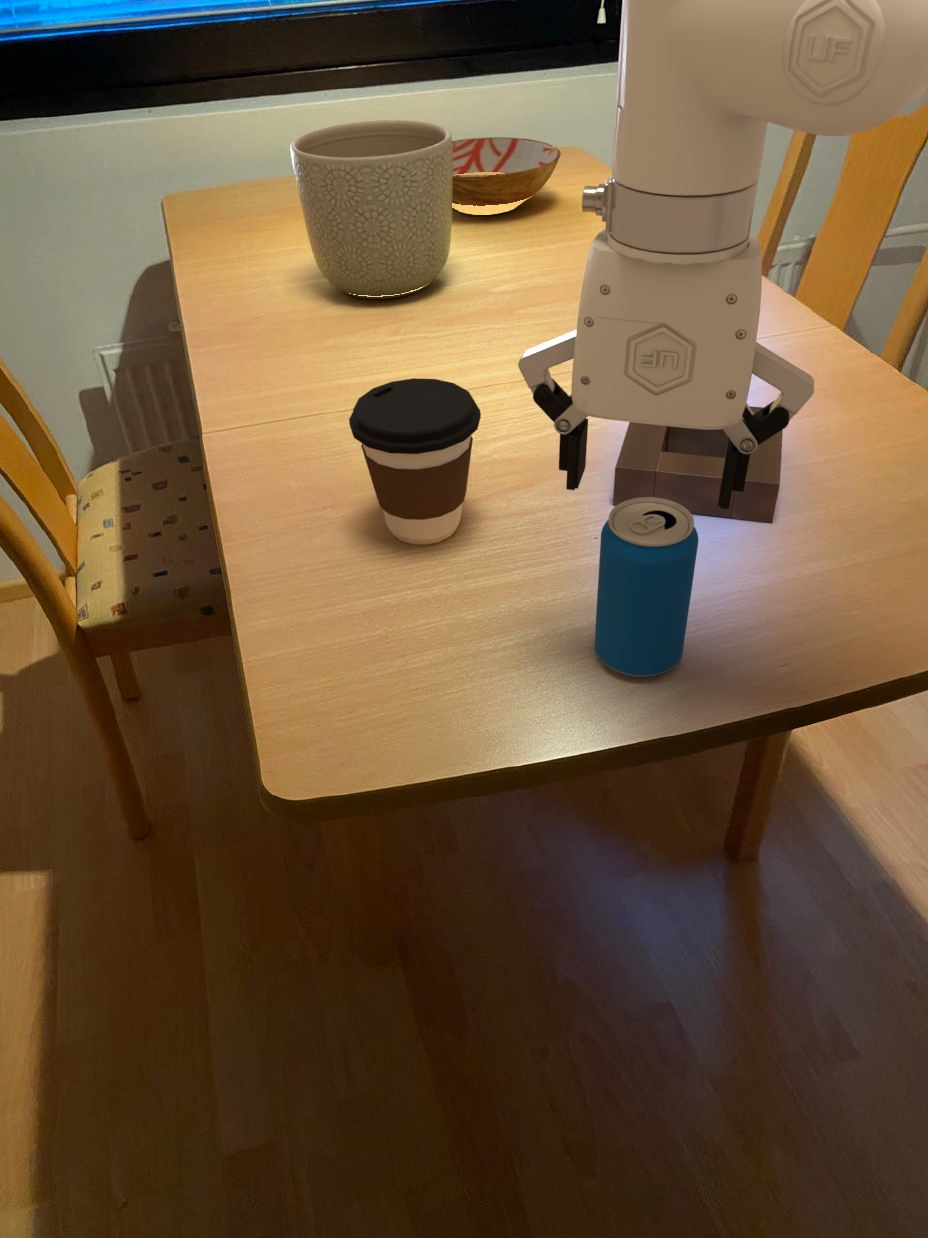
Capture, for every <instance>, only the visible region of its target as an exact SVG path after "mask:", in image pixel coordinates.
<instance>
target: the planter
mask: <svg viewBox="0 0 928 1238" xmlns="http://www.w3.org/2000/svg"><path fill="white" fill-rule="evenodd" d="M452 141H453V139H452V132H451V131H450V130H449V129H448V128H446V127H445V126H442V125H440V124H437V123H432V122H427V121H426V122H425V121H419V120H407V119H379V120H378V119H377V120H364V121H363V120H362V121H355V122H347V123H340V124H334V125H330V126H329V125H328V126H325V127H320V128H317V129H314V130H310V131H308V132H305V133H303V134H301V135H299V136H296V137H295V138H294V139H293V140H292V141H291V142H290V145H289V147H290V155H291V162H292V167H293V173H294V178H295V184H296V188H297V193H298V197H299V203H300V206H301V212H302V215H303V221H304V225H305V230H306V233H307V234H306V235H307V238H308V241H309V245H310V249H311V252H312V255H313V258H314V261H315V264H316V266H317V269H318V270H319V272H320V274H321V275H322V277H323V278H325V280H327V281H328V282H329V283H330V284H331V285H332V286H333V287H335V288H336V289H338V290H339V291H341V290H342V291H341V292H343V291H344V292H343V293H344V294H346V295H350V296H352V297H356V298H360V299H367V300H385V299H395V298H401V297H405V296H409V295H412V294H415V293H417V292H419V291H421V290H423V289H424V288H426V287H427V286H429V285H430V284H431V283H432V282H433V281H435V280H436V279H437V277H438V276H439V275H440V274H441V272H442V271H443V269H444V268H445V266H446V263H447V261H448V258H449V255H450V249H451V240H452V224H453V223H452V222H453V220H452V219H453V209H452V190H453V157H452ZM431 281H432V282H431ZM430 282H431V283H430ZM428 283H430V284H428ZM427 284H428V285H427ZM425 285H427V286H425ZM423 286H425V287H423ZM420 287H423V288H421V289H419V290H416V291H413V292H409V291H411V290H415V289H418V288H420ZM346 292H347V293H346ZM405 292H409V293H405ZM349 293H351V294H349ZM401 293H405V294H401ZM353 294H356V295H353ZM394 294H400V295H394ZM358 295H368V296H369V295H370V296H381V295H394V296H383V297H367V296H358Z"/></svg>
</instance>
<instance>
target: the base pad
mask: <svg viewBox="0 0 928 1238" xmlns="http://www.w3.org/2000/svg"><path fill="white" fill-rule="evenodd" d="M749 407H750V408H751V410H752V411H753V413H754V414H755V413H756V412H758V411H759V410H761V409H762V408H764V407H765V406H764V407H763V406H750V405H749ZM783 430H784V429H783ZM783 430H781V431H780V432H778V433H777V434H775V435H773V436H772V437H770V438H769V439H767V440H766V441H764V442H763V443H761V444H759V445H758V447H757V449H756V451H755V452H753V453H751V454H750V459H749V465H748V470H747V475H746V480H745V486H744V491H743V492H739V491H732V494H731V500H730V505H729V509H721V506H718V499H719V492H720V485H721V479H722V473H723V467H724V461H725V456H726V450H727V444H728V438H729V437H728V436H727V434H726V433H725V432H724V430H723V429H718V430H706V429H693V428H683V427H673V426H663V425H653V424H644V423H634V422H628V425H627V428H626V431H625V435H624V438H623V441H622V444H621V448H620V450H619V454H618V457H617V460H616V464H615V467H614V479H613V495H612V506H617V505H618V504H620V503H622V502H624V501H627V500H631V499H635V498H643V497H653V498H661V499H666V500H670V501H673V502H675V503H678V504H680V505H681V506H683V507H684V508H686V509H687V510H688V511H689V512H690V513H691V515H699V516H708V517H717V518H726V519H734V520H743V521H750V522H759V523H769V524H772V523H773V522H774V517H775V511H776V506H777V501H778V495H779V491H780V486H781V470H782V451H783V450H782V449H783V433H784V431H783Z"/></svg>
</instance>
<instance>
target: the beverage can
mask: <svg viewBox="0 0 928 1238" xmlns="http://www.w3.org/2000/svg"><path fill="white" fill-rule="evenodd" d="M698 545H699V534H698V531H697V529H696V527H695V519H694V517H693V514H691V513H690V512H689V511H688V510H687V509H686V508H684V507H683V506H681V505H680V504H678V503H675V502H673V501H670V500H666V499H661V498H653V497H643V498H635V499H631V500H627V501H624V502H622V503H620V504H618V505H614V507H613V508H612V509H611V511H610V512H609V514H608V519H607V520H606V521H605V522H604V524H603V526H602V528H601V532H600V545H599V560H598V561H599V562H598V579H597V593H596V595H597V597H596V610H595V611H596V613H595V627H594V628H595V629H594V651H595V653H596V655H597V657H598V658H599V660H600V661H601V662H602V663H603V664H604V665H605V666H607V667H609V668H610V669H611V670H613V671H615V672H618V673H620V674H622V675H626V676H629V677H635V678H646V677H653V676H658V675H661V674H664V673H666V672H669V671H670V670H672V669H673V668H674V667H676V666H677V665H678V664H679V662H680V661H681V659H682V656H683V654H684V647H685V646H684V645H685V639H686V634H687V633H686V632H687V625H688V619H689V610H690V603H691V597H692V589H693V582H694V575H695V568H696V561H697V554H698V549H699V548H698V547H699V546H698Z"/></svg>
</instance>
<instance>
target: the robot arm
mask: <svg viewBox="0 0 928 1238" xmlns="http://www.w3.org/2000/svg"><path fill="white" fill-rule="evenodd" d="M620 21H621V22H620V34H619V48H618V49H619V50H618V66H617V81H616V94H615V95H616V96H615V111H614V124H613V125H614V127H613V142H612V157H611V158H612V159H611V173H610V174H611V176H610V177H608V178H607V179H606V181H605V183H598V185H584V187H583V191H582V196H581V197H582V198H581V211H582V213H593V214H595V216H597V217H598V216H599V217H601V222H603V223H605V227H604V229H601V231H599V232H598V234H597V235H596V236H595V237H594V238H593V239H592V242H591V244H590V245H591V246H590V248H589V253H588V256H587V260H586V265H585V270H584V276H583V280H582V285H581V291H580V299H579V304H578V305H579V307H578V314H577V323H576V329H574V330H571V331H570V332H567V333H565V334H563V335H560V336H557V337H555V338H553V339H551V340H548V341H545V342H542V343H541V344H538V345H536V346H533V347H530V348H528V349H526V350H524V351H523V353H522V355H521V357H520V359H519V360H518V363H517V366H518V369H519V371H520V373H521V375H522V378H523V379H524V381H525V383H526V385H527V387H528V389H530V391H531V393H532V399H533V402H534V403H535V404H536V406H538V407H539V408H540V410H542V412H543V413H544V414H545V415H546V416H547V417H548V418H549V419H550V420H551V421H552V422H553V428H554V430H555V431H556V432H557V433H558V434H559V449H558V450H559V452H558V470H559V471H562V472H566V486H565V487H566V488H565V489H566V490H567V491H575V490H576V489H577V490H578V489H579V487H580V484H581V482H582V478H583V477H584V476H583V475H584V473H585V470H586V463H587V448H588V447H587V445H588V429H589V418H588V417H592V418H597V419H601V420H608V421H617V422H624V423H625V422H626V423H627V422H628V423H629V422H634V423H644V424H653V425H663V426H673V427H683V428H693V429H706V430H718V429H723V430H724V432H725V433H726V434H727V436H728V437H729V438H728V444H727V450H726V456H725V461H724V467H723V473H722V479H721V485H720V492H719V499H718V506H721V509H729V505H730V500H731V494H732V491H739V492H743V491H744V486H745V480H746V475H747V470H748V465H749V459H750V454H751V453H753V452H755V451H756V449H757V447H758V445H759V444H761V443H763V442H764V441H766V440H767V439H769V438H770V437H772V436H773V435H775V434H777V433H778V432H780V431H781V430H785V429H786V428H787V427H788V425H789V424H790V421H791V420H792V419H793V417H795V416H796V415H797V414H798V413H799V412H800V411H801V409H802V408H803V407H804V406H805V404H806V403H808V401H810V399H811V398H812V396H813V395H814V393H815V379H814V377H813V376H812V375H811V374H809V373H807V372H806V371H805V370H803V369H801V368H799V367H798V366H796V365H795V364H793V363H792V362H790V361H788V360H786V359H785V358H783V357H782V356H780V355H778V354H777V353H775V352H774V351H772V350H770V349H768V348H767V347H765V346H763V345H762V344H760V343H759V342H757V338H758V330H759V322H760V314H761V301H762V290H763V289H762V288H763V287H762V286H763V284H762V282H763V281H762V280H763V261H762V259H763V257H762V248H761V247H762V246H761V242H760V240H759V238H758V237H757V236H755V234H752V233H751V227H752V221H753V214H754V208H755V202H756V196H757V190H758V183H759V178H760V173H761V167H762V162H763V161H762V160H763V153H764V148H765V142H766V136H767V129H768V123H770V124H774V125H776V126H780V127H783V128H787V129H790V130H794V131H798V132H801V133H807V134H811V135H816V136H823V137H844V136H851V135H856V134H860V133H864V132H867V131H870V130H872V129H874V128H878V127H879V126H881V125H883V124H884V123H886V122H888V121H890V120H892V119H893V118H894V117H896V116H897V115H899V114H900V113H902V111H903V110H905V109H906V108H907V107H908V106H909V105H910V104H912V103H913V102H914V101H915V100H917V99H918V98H919V97H920V96H922V94H923V93H924V92H925V91H926V90H927V89H928V0H622V4H621V19H620ZM571 360H573V362H572V372H571V373H572V374H571V393H570V394H568V393H567V392H566V391H565V389H563V388H562V386H561V385H560V384H558V382H557V381H556V380H555V379H554V378H552V376H551V372H550V370H549V369H550V368H553V367H556V366H558V365H561V364H563V363H566V362H568V361H571ZM752 376H755V377H757V378H759V379H760V380H762V381H764V382H765V383H767V384H769V385H770V386H772V387H773V388H775V389H777V390H778V391H779V394H778V396H777V398H776V399H775V400H772V401H771V402H770V403H768V404H767V405H766V406H764V408H762V409H761V410H759V411H758V412H756V413H755V414H754V413H753V411H752V410H751V408H750V407H749V406H750V405H749V404H748V402H747V401H748V397H749V394H750V393H749V392H750V387H751V381H752V378H753V377H752Z"/></svg>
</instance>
